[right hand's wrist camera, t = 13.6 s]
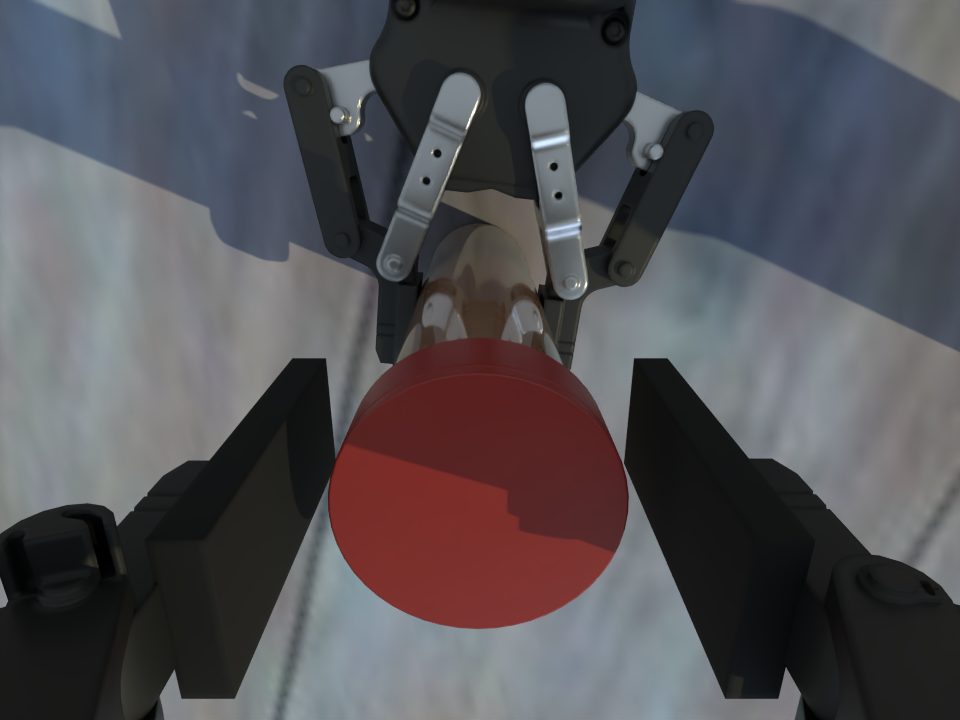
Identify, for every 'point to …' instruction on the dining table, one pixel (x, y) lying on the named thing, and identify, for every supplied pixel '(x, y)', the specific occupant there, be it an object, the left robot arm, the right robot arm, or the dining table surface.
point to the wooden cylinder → (478, 294)
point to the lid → (478, 486)
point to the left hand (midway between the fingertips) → (470, 376)
